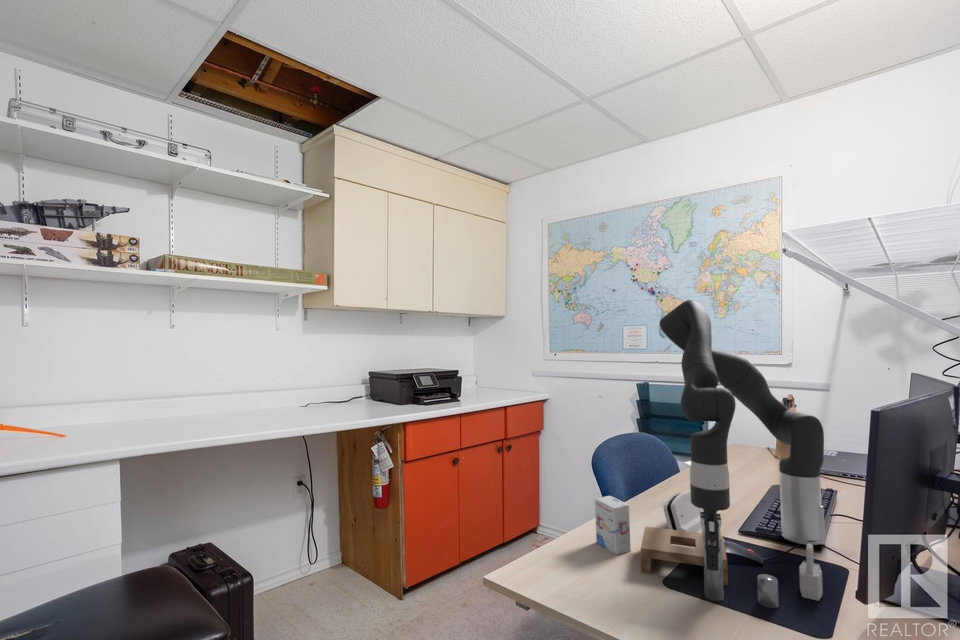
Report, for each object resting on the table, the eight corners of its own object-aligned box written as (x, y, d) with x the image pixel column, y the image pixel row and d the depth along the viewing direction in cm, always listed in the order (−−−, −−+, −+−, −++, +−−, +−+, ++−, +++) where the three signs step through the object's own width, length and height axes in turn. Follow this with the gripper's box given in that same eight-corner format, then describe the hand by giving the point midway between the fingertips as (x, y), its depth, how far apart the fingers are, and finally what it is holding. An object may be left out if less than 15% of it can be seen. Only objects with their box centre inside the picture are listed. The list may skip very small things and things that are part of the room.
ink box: (594, 542, 133) (593, 497, 133) (610, 539, 135) (609, 494, 135) (615, 555, 125) (614, 507, 125) (631, 551, 127) (630, 504, 127)
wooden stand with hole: (723, 558, 122) (722, 535, 122) (727, 585, 109) (727, 560, 109) (645, 547, 129) (645, 526, 129) (641, 572, 116) (640, 548, 116)
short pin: (776, 600, 102) (776, 575, 103) (780, 609, 99) (779, 583, 99) (756, 597, 104) (756, 572, 104) (759, 606, 100) (758, 580, 101)
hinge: (687, 537, 135) (673, 499, 137) (671, 539, 138) (658, 501, 141) (712, 521, 146) (700, 486, 149) (697, 522, 149) (685, 488, 152)
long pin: (723, 594, 105) (721, 536, 106) (724, 602, 102) (722, 543, 102) (704, 591, 107) (702, 534, 107) (705, 599, 103) (703, 540, 104)
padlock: (822, 602, 101) (820, 552, 102) (798, 597, 104) (797, 548, 104) (823, 588, 107) (821, 540, 107) (800, 582, 110) (799, 536, 110)
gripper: (732, 494, 97) (734, 579, 97) (726, 475, 110) (729, 550, 110) (690, 490, 100) (692, 573, 100) (690, 472, 113) (691, 545, 113)
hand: (711, 560), depth 105 cm, fingers open, 8 cm apart
